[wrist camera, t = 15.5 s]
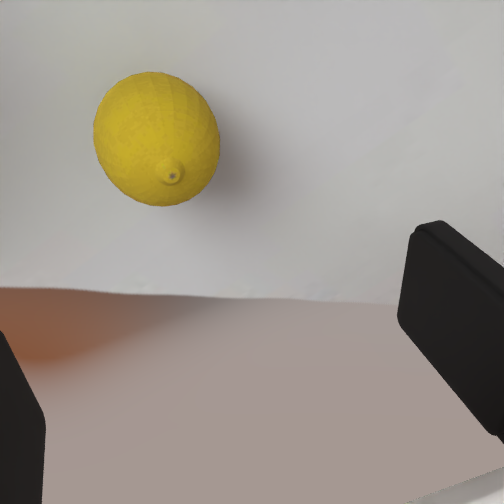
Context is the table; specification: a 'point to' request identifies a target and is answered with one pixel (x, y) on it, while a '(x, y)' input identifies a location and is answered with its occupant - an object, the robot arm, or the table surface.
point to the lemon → (156, 139)
